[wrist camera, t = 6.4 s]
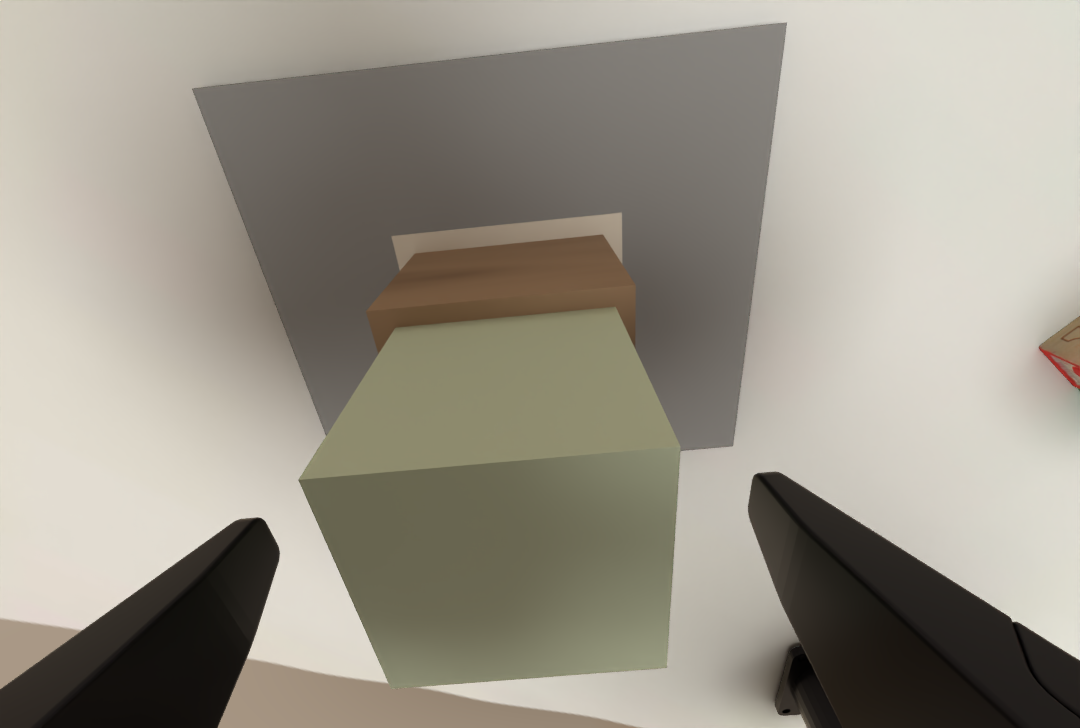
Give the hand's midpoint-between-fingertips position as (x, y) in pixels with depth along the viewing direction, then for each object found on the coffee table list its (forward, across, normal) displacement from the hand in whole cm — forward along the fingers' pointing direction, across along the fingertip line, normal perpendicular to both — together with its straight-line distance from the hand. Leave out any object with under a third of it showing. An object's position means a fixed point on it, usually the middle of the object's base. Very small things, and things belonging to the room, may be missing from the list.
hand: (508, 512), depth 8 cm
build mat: (+9, 0, -1) cm, 9 cm away
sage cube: (+4, 0, 0) cm, 4 cm away
